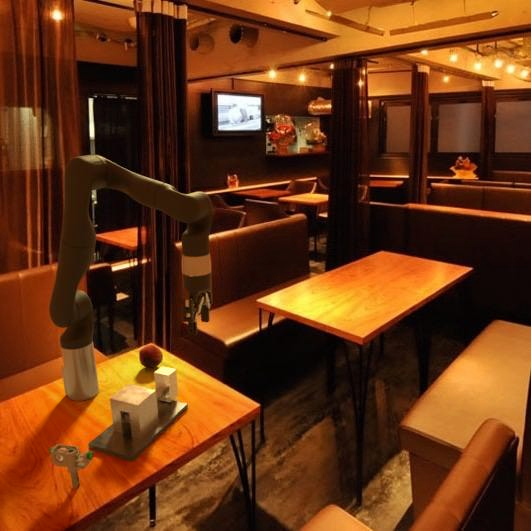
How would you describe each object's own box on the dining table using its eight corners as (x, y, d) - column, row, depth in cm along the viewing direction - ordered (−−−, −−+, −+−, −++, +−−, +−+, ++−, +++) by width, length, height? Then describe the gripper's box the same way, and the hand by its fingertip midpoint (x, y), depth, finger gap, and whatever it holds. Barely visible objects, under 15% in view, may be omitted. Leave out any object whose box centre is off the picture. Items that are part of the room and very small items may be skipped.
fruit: (165, 362, 176) (163, 341, 174) (161, 372, 168) (159, 351, 166) (143, 362, 176) (141, 341, 174) (137, 373, 168) (135, 351, 166)
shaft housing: (88, 448, 130) (83, 410, 127) (148, 398, 153) (145, 364, 150) (132, 462, 125) (128, 422, 121) (187, 408, 148) (185, 373, 144)
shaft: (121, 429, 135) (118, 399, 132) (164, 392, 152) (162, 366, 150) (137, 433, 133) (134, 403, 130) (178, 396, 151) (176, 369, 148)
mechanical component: (92, 493, 115) (87, 456, 112) (52, 487, 116) (46, 451, 114) (99, 484, 117) (94, 448, 114) (60, 479, 119) (54, 443, 116)
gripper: (194, 261, 137) (196, 316, 141) (171, 277, 123) (175, 337, 128) (220, 263, 135) (221, 319, 139) (199, 279, 121) (202, 340, 126)
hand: (199, 327), depth 134 cm, fingers open, 8 cm apart
